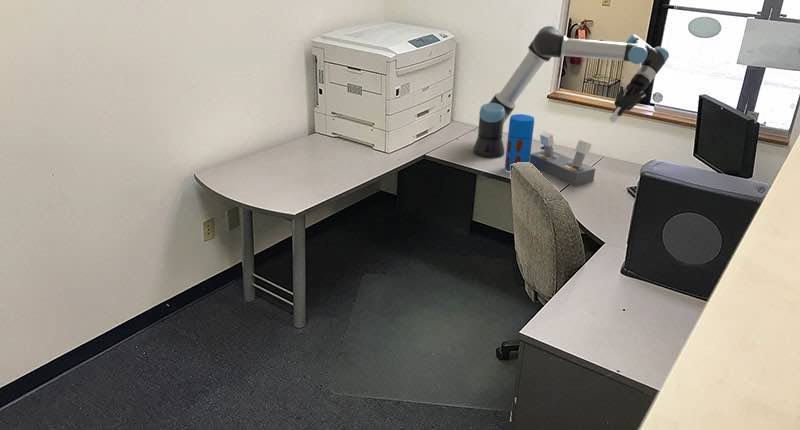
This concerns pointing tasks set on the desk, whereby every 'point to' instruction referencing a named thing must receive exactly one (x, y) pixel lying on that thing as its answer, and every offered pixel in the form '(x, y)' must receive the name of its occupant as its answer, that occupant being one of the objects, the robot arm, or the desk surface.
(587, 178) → the switch box
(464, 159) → the desk surface
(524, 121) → the thermos
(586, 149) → the outer lever
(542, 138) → the inner lever
